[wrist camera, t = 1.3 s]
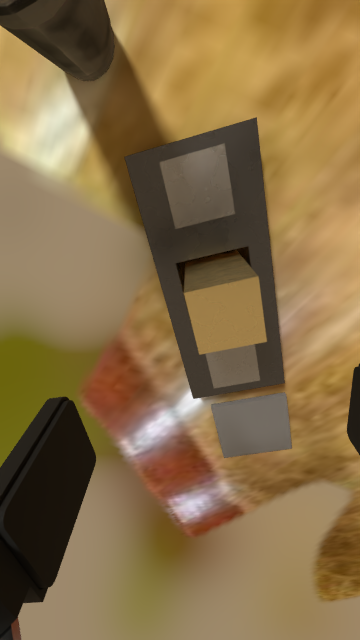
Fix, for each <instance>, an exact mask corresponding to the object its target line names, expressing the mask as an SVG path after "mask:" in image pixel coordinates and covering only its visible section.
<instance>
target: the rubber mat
mask: <svg viewBox="0 0 360 640" xmlns="http://www.w3.org/2000/svg"><path fill="white" fill-rule="evenodd" d="M211 408H212V412H213V416H214V420H215V424H216V428H217V432H218V436H219V440H220V444H221V448H222V452H223V456H224V458H228V457H235V456H242V455H249V454H256V453H263V452H271V451H278V450H285V449H292V445H291V435H290V426H289V416H288V407H287V397H286V394H285V392H284V393H278V394H272V395H266V396H260V397H254V398H248V399H242V400H236V401H230V402H224V403H218V404H212V405H211Z"/></svg>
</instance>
